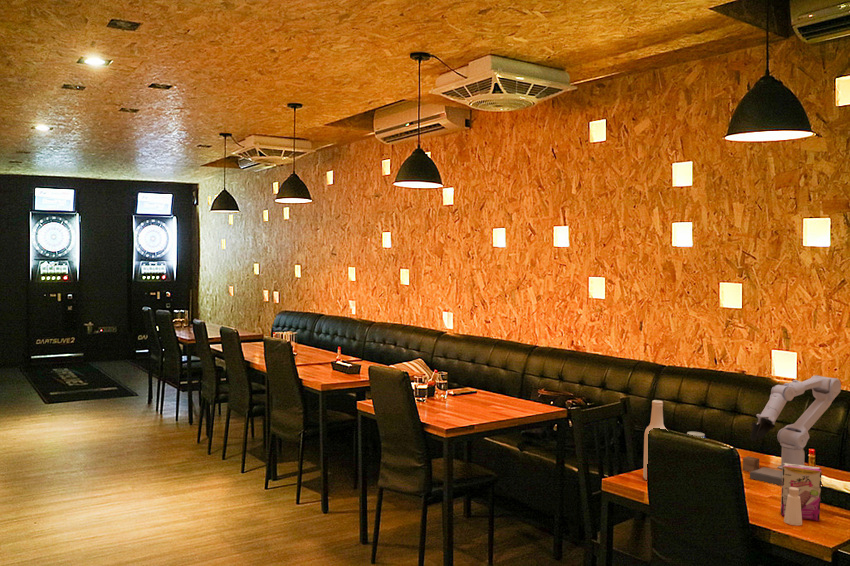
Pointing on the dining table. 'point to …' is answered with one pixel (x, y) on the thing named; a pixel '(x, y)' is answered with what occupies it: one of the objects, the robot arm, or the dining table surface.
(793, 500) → the salt shaker
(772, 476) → the tray
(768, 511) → the dining table surface
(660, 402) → the alcohol
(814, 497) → the candy bar box
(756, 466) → the block
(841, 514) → the dining table surface
